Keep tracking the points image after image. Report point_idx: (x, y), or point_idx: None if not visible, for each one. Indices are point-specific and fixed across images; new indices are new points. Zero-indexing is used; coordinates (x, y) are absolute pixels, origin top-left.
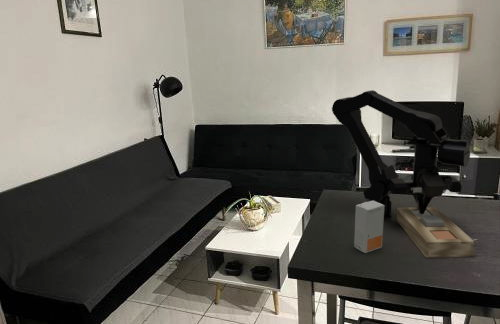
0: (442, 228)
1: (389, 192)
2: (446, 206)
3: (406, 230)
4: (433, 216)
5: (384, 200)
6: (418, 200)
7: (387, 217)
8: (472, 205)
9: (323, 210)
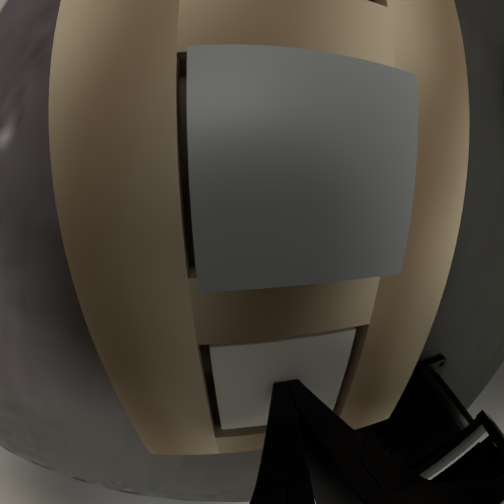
0: (235, 10)
1: (464, 471)
2: (97, 457)
3: None
4: (264, 251)
5: (437, 438)
6: (399, 469)
7: None
8: (26, 441)
9: (489, 374)
